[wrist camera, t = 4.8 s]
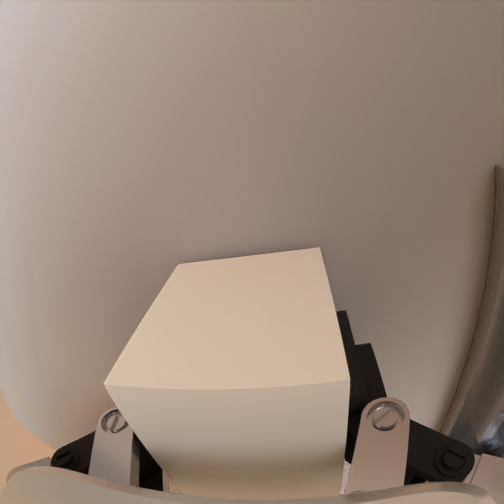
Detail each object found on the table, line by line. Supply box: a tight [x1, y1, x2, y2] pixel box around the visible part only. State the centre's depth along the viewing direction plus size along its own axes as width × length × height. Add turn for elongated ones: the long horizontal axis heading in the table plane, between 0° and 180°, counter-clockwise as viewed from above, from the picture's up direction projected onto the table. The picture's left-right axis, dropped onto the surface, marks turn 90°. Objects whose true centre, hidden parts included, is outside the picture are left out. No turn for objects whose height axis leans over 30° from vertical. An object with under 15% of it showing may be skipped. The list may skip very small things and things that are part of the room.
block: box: [103, 247, 350, 500], centre depth 10 cm, size 9×5×6 cm, turn 10°
